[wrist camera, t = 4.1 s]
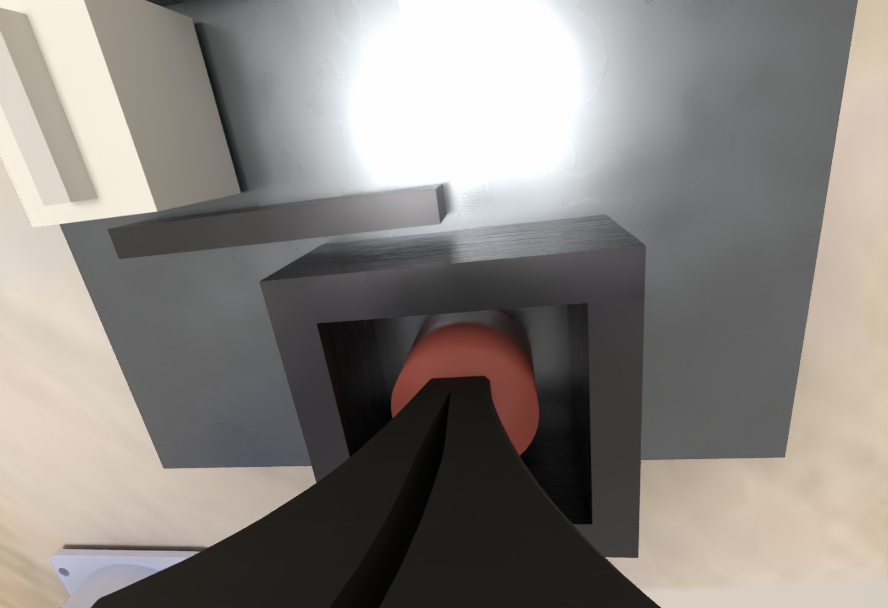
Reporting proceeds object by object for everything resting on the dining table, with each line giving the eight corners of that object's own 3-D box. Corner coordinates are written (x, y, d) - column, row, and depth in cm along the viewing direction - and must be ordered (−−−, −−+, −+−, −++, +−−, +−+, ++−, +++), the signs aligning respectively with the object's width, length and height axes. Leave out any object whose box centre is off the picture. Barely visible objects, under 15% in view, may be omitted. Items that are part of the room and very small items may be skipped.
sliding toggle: (240, 193, 12) (134, 216, 8) (141, 206, 12) (2, 233, 9) (192, 18, 10) (39, -40, 7) (81, 40, 11) (-110, -3, 7)
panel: (756, 425, 14) (875, 561, 9) (191, 441, 17) (81, 548, 13) (838, -207, 9) (1177, -555, 4) (14, -11, 12) (-270, -96, 8)
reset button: (535, 408, 13) (543, 471, 10) (421, 412, 13) (403, 473, 11) (528, 299, 12) (534, 341, 9) (403, 309, 12) (379, 351, 10)
